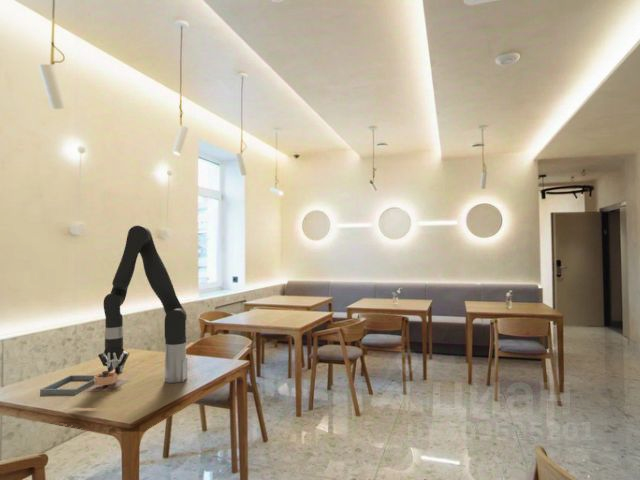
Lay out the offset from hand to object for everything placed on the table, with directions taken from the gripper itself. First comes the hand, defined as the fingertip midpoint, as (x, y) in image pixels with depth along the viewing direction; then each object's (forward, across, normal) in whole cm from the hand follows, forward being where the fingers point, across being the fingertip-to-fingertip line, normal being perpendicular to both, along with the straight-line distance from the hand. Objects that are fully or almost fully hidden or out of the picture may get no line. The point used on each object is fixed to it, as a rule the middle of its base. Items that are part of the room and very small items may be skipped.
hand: (113, 374), depth 185 cm
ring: (+1, 0, +5) cm, 5 cm away
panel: (+4, 0, +5) cm, 6 cm away
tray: (+4, +15, +6) cm, 17 cm away
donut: (+4, +6, -15) cm, 17 cm away
